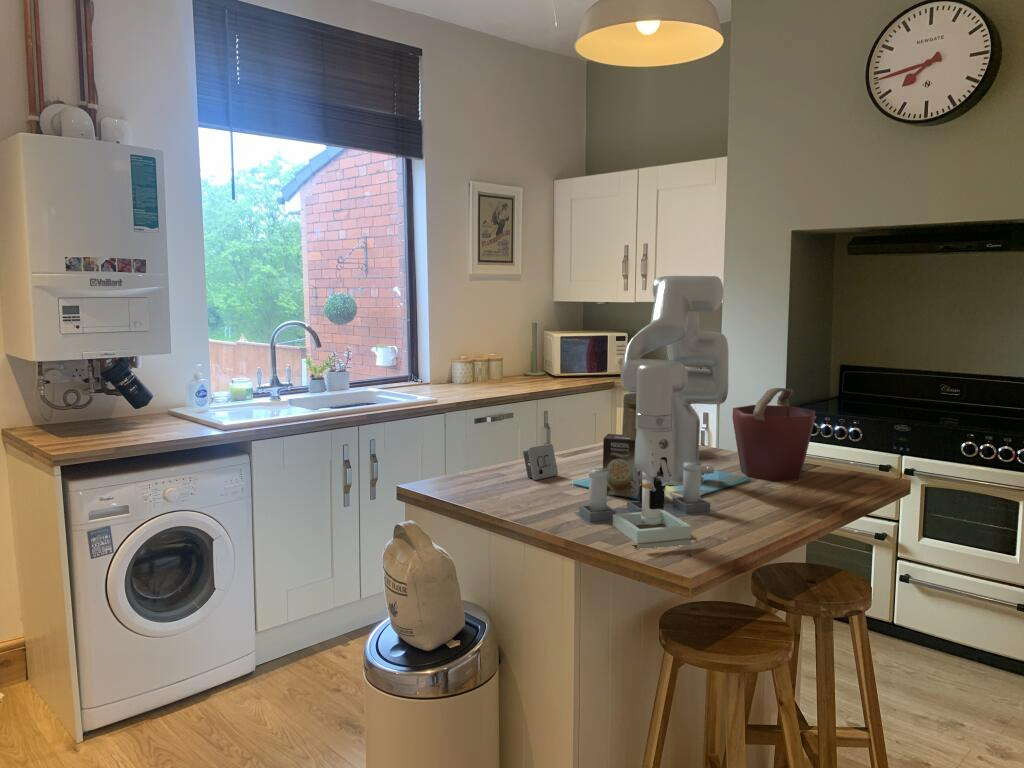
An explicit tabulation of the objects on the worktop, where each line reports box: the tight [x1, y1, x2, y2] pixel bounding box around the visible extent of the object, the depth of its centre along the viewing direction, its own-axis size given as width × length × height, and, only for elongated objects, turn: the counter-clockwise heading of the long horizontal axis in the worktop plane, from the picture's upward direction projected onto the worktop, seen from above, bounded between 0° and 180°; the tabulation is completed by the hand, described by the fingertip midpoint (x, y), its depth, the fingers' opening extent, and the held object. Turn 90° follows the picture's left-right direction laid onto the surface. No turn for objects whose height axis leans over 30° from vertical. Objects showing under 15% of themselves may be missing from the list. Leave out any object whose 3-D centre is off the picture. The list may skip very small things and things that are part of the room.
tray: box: [612, 510, 692, 549], centre depth 168 cm, size 12×12×4 cm
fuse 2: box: [682, 461, 703, 504], centre depth 184 cm, size 4×4×11 cm
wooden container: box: [621, 392, 637, 436], centre depth 256 cm, size 15×15×22 cm
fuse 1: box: [588, 467, 608, 513], centre depth 177 cm, size 4×4×11 cm
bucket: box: [732, 387, 816, 482], centre depth 223 cm, size 24×22×25 cm
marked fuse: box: [641, 472, 662, 526], centre depth 167 cm, size 4×4×11 cm
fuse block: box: [573, 496, 717, 526], centre depth 182 cm, size 32×10×4 cm, turn 106°
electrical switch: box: [522, 443, 559, 481], centre depth 221 cm, size 9×5×9 cm, turn 131°
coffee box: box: [602, 433, 640, 498], centre depth 198 cm, size 9×6×16 cm
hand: (651, 504), depth 167 cm, fingers closed on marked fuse, 4 cm apart
